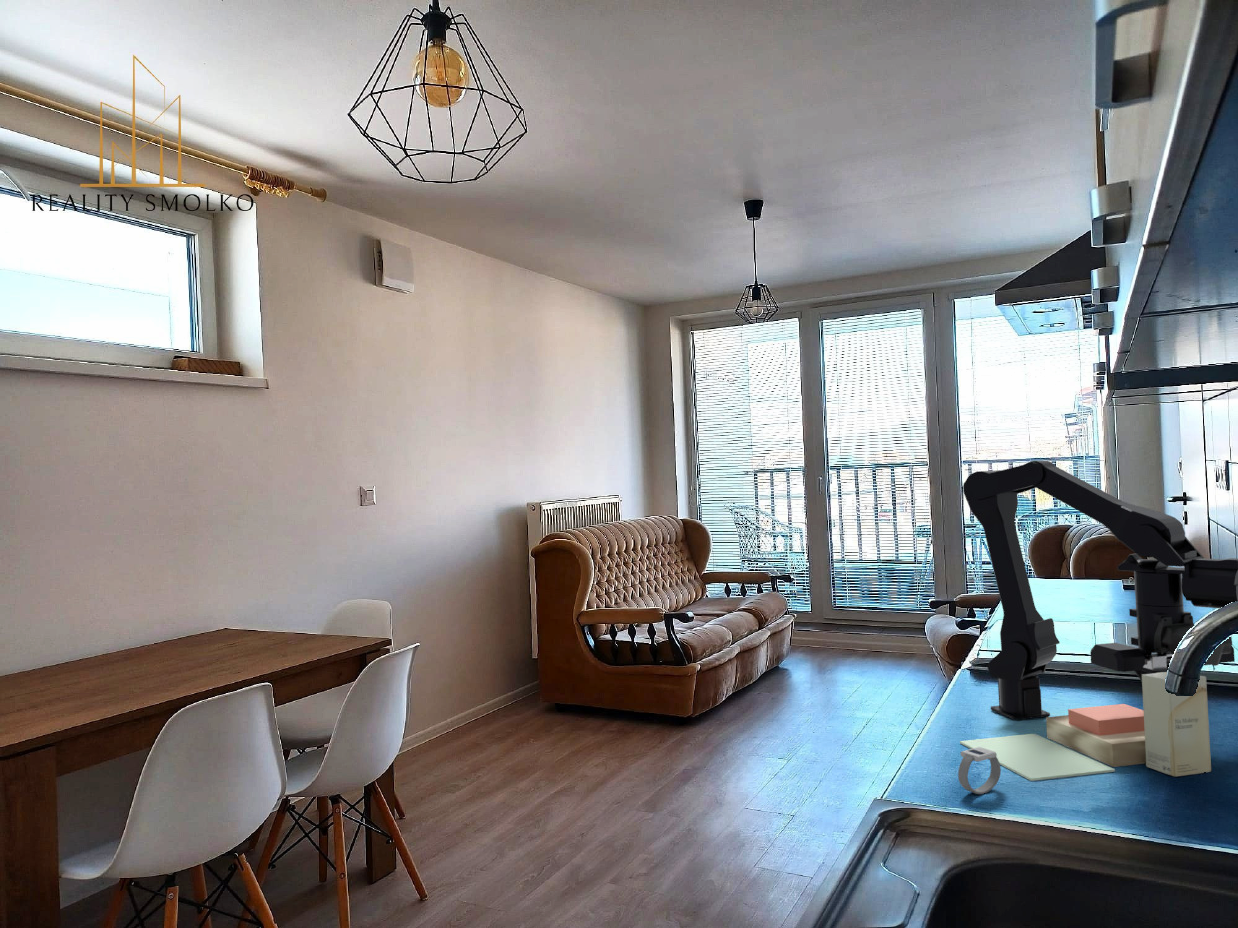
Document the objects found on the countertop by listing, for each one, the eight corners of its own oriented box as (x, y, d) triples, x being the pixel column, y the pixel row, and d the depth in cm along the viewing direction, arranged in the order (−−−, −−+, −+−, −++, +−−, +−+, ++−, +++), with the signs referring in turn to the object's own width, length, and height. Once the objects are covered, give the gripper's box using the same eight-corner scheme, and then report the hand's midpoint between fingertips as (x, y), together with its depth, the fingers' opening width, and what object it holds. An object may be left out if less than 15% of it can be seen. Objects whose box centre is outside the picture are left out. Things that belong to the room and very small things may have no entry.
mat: (959, 743, 123) (959, 740, 123) (1034, 735, 125) (1034, 733, 125) (1031, 780, 108) (1031, 778, 108) (1114, 771, 110) (1114, 769, 110)
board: (1047, 737, 124) (1046, 717, 124) (1113, 730, 126) (1112, 710, 126) (1113, 766, 111) (1111, 743, 111) (1186, 758, 113) (1185, 736, 113)
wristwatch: (988, 783, 107) (986, 744, 107) (1007, 790, 105) (1005, 749, 105) (953, 793, 105) (951, 752, 105) (972, 800, 102) (969, 758, 102)
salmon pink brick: (1099, 735, 115) (1098, 720, 115) (1068, 723, 121) (1068, 709, 121) (1157, 729, 116) (1156, 714, 116) (1124, 717, 122) (1123, 703, 122)
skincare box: (1174, 778, 106) (1169, 681, 107) (1144, 767, 111) (1139, 673, 111) (1213, 771, 108) (1208, 676, 108) (1182, 760, 112) (1177, 668, 113)
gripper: (1145, 616, 111) (1152, 736, 111) (1267, 607, 114) (1274, 723, 114) (1085, 604, 122) (1090, 714, 121) (1197, 596, 125) (1203, 702, 125)
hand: (1165, 713), depth 120 cm, fingers closed
